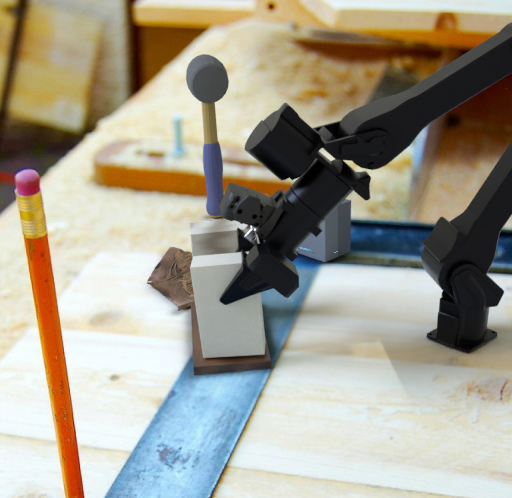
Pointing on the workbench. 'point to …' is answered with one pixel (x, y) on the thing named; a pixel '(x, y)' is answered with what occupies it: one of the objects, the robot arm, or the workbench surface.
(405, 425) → the workbench surface
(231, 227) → the marble panel stand
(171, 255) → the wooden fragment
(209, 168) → the rubber mallet
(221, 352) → the white rectangular block
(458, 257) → the robot arm
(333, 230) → the grey box
